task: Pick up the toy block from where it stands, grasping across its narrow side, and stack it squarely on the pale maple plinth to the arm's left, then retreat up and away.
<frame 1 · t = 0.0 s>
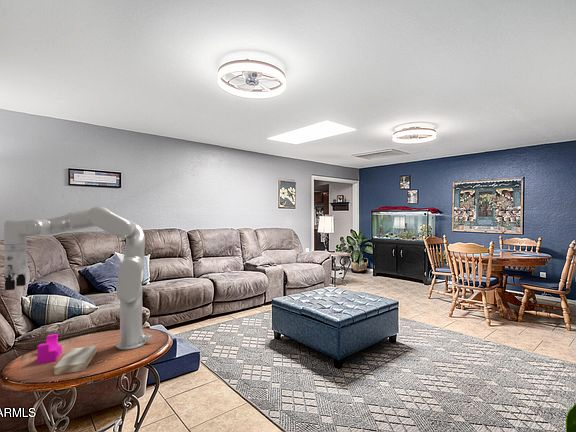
hand: (15, 287, 135), 31 cm above the table, fingers open, 9 cm apart
plinth: (76, 362, 131), on the table
toy block: (51, 356, 139), on the table
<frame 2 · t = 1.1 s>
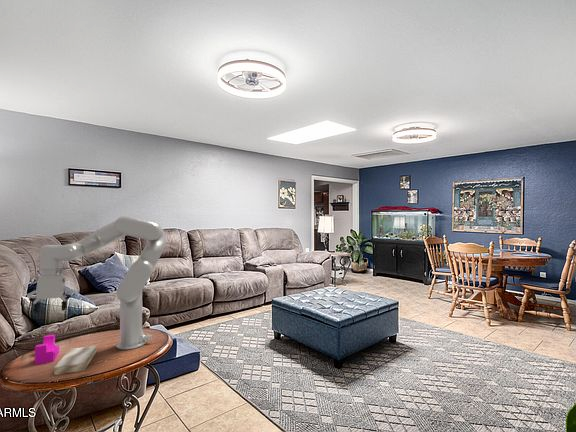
hand: (51, 311, 139), 20 cm above the table, fingers open, 9 cm apart
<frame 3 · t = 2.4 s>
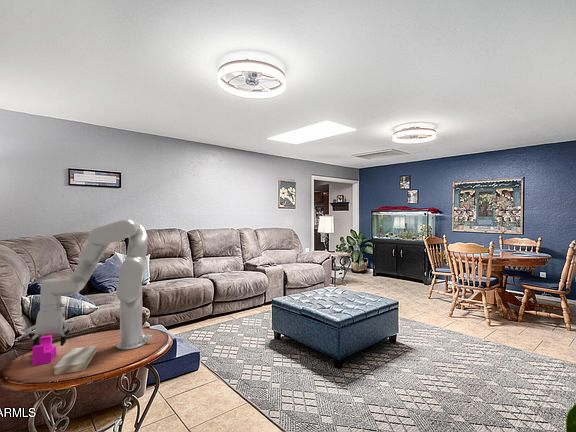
hand: (49, 346, 139), 4 cm above the table, fingers open, 9 cm apart
toy block: (46, 358, 137), on the table, touching gripper
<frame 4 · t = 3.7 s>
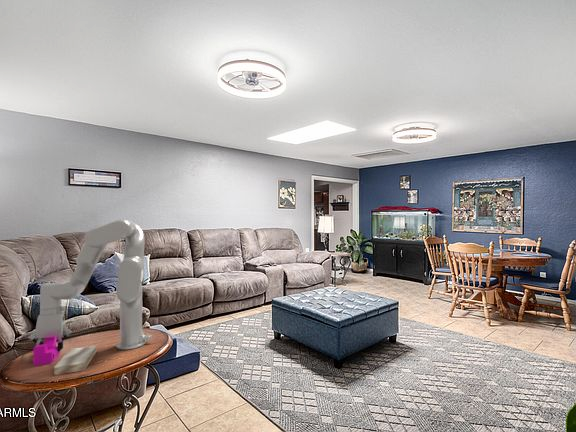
hand: (50, 351, 139), 2 cm above the table, fingers closed on toy block, 6 cm apart
toy block: (49, 357, 137), on the table, touching gripper
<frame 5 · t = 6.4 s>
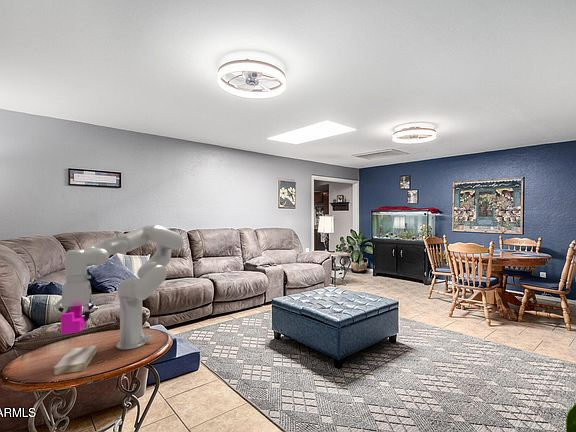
hand: (76, 321, 132), 17 cm above the table, fingers closed on toy block, 6 cm apart
toy block: (75, 327, 130), point 15 cm above the table, touching gripper
when the fingers open (6 cm above the table, at t = 9.3 s): toy block drops 1 cm, resting on plinth.
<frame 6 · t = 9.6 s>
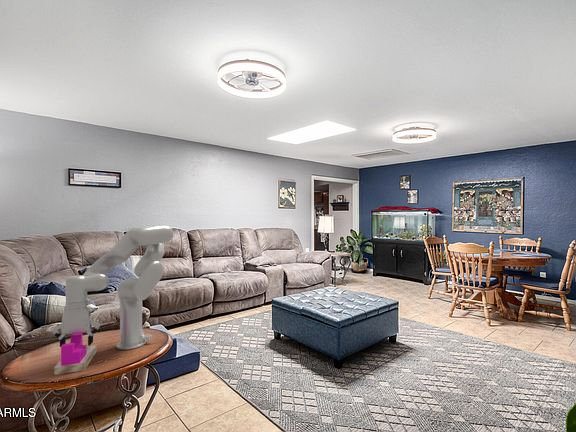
hand: (76, 346, 131), 7 cm above the table, fingers open, 9 cm apart
toy block: (76, 357, 130), point 3 cm above the table, touching plinth
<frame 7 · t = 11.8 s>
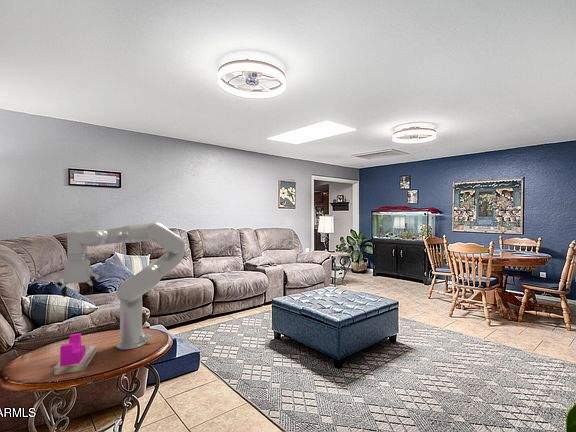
hand: (77, 295, 143), 26 cm above the table, fingers open, 9 cm apart
nothing on the table moved.
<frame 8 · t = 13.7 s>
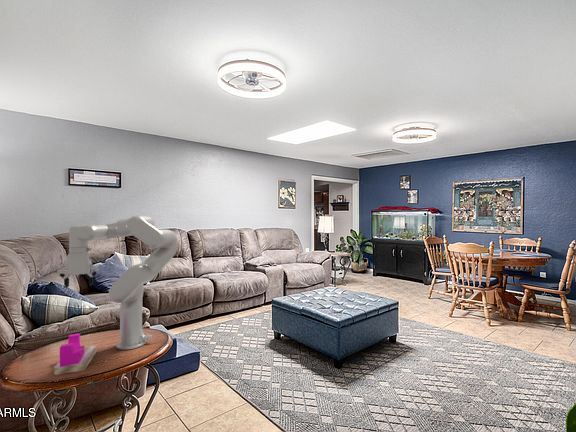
hand: (78, 286, 152), 28 cm above the table, fingers open, 9 cm apart
nothing on the table moved.
at the end: toy block inside the target area on the plinth (2.2 cm from its centre), point 2.8 cm above the plinth's base; toy block tilted 0°; the gripper is holding nothing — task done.
